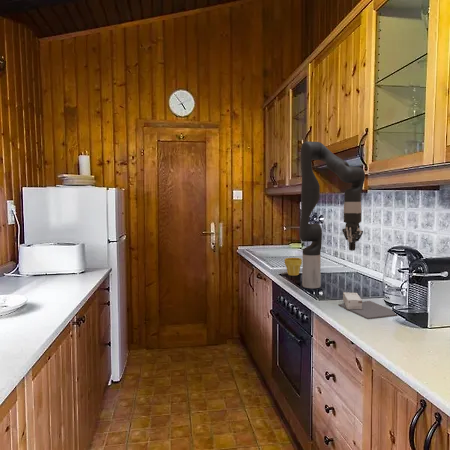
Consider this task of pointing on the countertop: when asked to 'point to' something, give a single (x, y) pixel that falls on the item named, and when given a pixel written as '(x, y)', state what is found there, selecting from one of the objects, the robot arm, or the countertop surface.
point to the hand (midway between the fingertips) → (352, 250)
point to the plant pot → (293, 265)
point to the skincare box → (352, 300)
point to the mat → (371, 310)
